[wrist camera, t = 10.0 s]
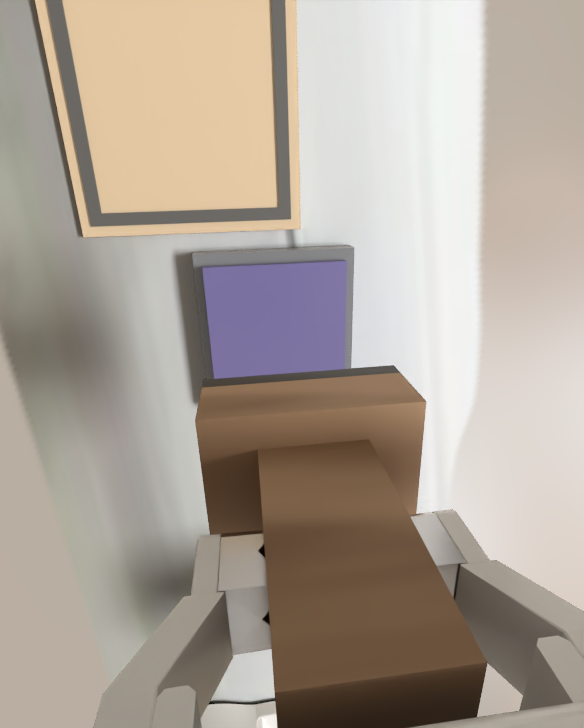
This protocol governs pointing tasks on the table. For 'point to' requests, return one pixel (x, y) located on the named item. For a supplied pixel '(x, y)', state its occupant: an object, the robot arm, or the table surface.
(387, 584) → the stamp
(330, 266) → the ink pad
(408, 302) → the table surface
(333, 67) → the table surface
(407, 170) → the table surface
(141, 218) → the marked card
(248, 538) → the robot arm
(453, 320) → the table surface
